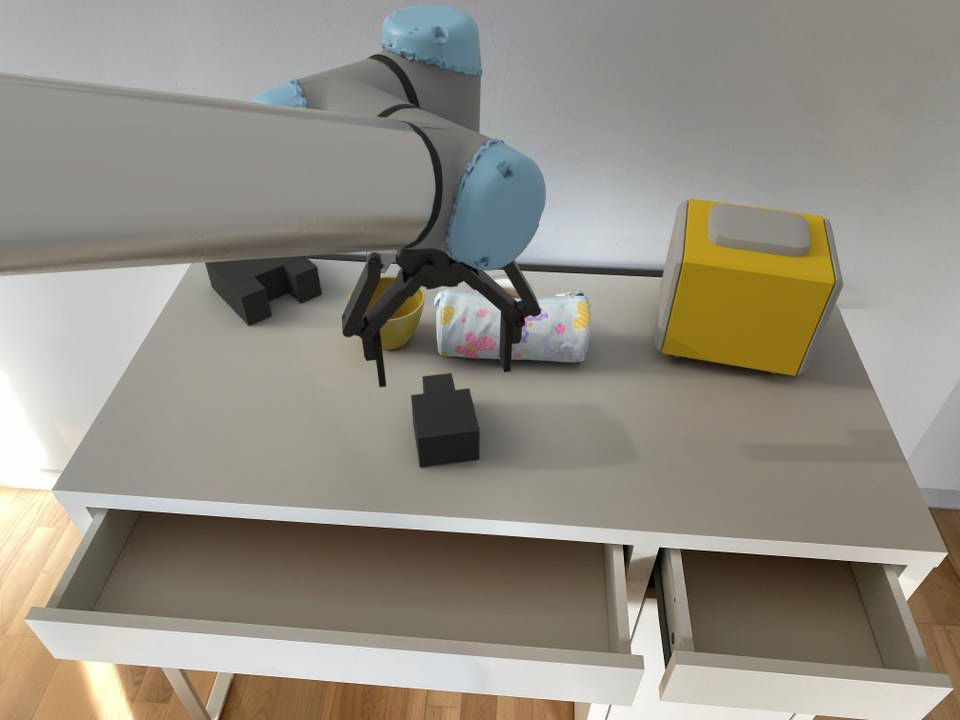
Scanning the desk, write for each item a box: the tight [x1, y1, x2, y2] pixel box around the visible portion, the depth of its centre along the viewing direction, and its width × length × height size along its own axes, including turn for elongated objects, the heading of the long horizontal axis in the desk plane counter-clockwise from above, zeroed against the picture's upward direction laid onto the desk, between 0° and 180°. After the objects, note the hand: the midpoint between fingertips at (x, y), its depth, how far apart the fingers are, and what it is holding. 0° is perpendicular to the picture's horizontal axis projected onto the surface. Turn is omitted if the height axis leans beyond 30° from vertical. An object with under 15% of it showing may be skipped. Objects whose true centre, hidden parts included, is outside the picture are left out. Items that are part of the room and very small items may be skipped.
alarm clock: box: [653, 198, 844, 377], centre depth 95 cm, size 20×16×18 cm
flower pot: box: [348, 275, 426, 351], centre depth 98 cm, size 10×10×7 cm
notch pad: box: [204, 256, 323, 327], centre depth 106 cm, size 12×12×5 cm
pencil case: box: [433, 288, 592, 363], centre depth 95 cm, size 21×9×10 cm, turn 89°
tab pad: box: [410, 372, 481, 468], centre depth 85 cm, size 7×10×5 cm
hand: (444, 371), depth 78 cm, fingers open, 13 cm apart
